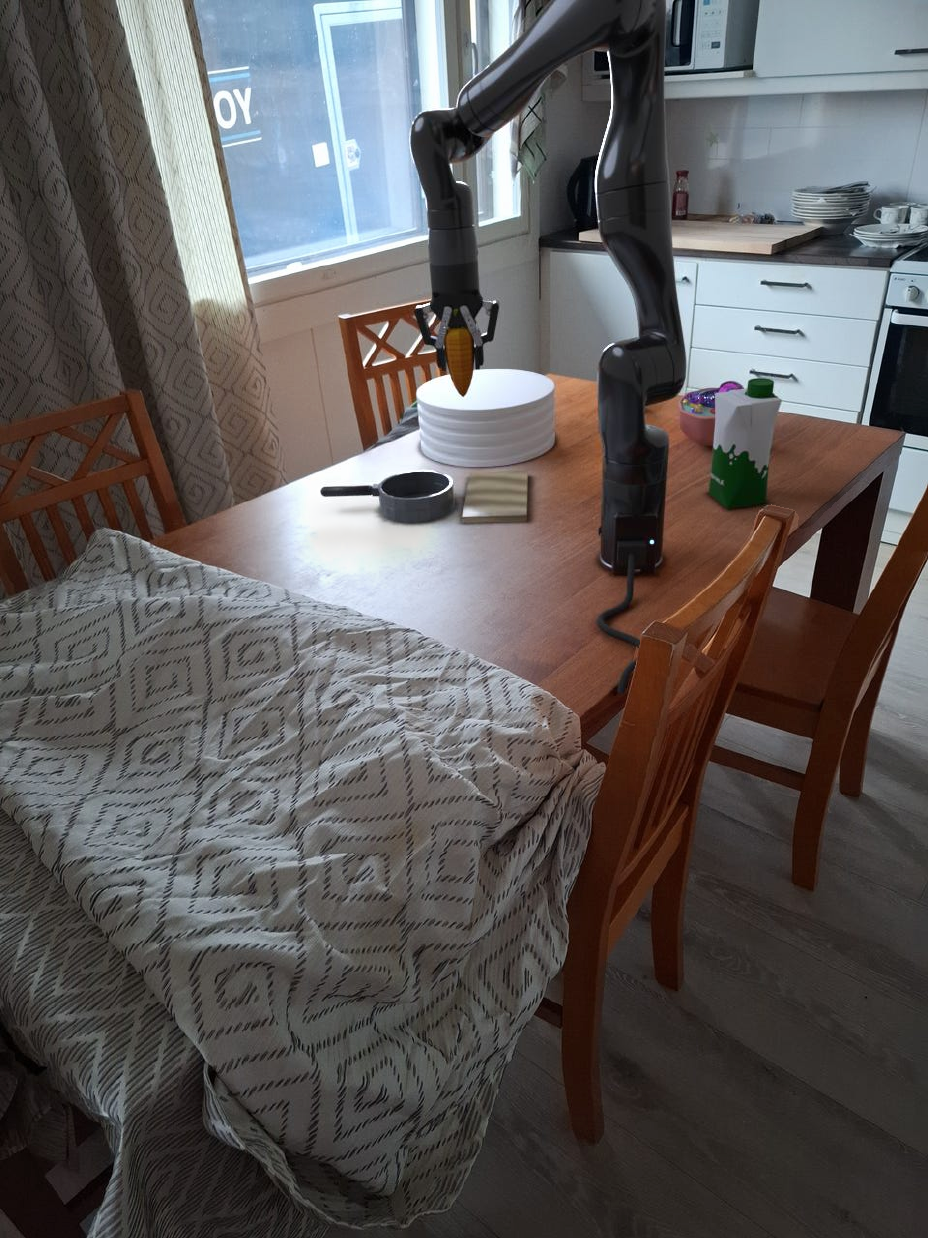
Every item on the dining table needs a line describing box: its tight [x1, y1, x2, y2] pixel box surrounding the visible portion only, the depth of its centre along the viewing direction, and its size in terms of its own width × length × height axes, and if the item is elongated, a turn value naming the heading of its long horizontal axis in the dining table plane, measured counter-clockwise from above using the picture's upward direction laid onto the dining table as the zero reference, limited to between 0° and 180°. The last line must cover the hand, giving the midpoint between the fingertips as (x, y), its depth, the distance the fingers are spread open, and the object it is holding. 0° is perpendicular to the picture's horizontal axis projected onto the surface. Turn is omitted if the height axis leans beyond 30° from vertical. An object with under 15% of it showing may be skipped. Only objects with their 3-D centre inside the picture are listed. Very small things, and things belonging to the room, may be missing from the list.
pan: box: [378, 469, 456, 525], centre depth 152 cm, size 13×13×4 cm
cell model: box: [677, 380, 745, 447], centre depth 168 cm, size 17×20×11 cm
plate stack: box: [415, 368, 556, 468], centre depth 177 cm, size 28×28×12 cm
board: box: [461, 470, 529, 524], centre depth 154 cm, size 20×11×1 cm, turn 176°
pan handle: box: [320, 483, 379, 498], centre depth 152 cm, size 11×2×2 cm, turn 86°
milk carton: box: [708, 377, 783, 510], centre depth 143 cm, size 9×9×20 cm
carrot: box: [444, 309, 475, 397], centre depth 140 cm, size 5×5×15 cm
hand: (461, 368), depth 141 cm, fingers closed on carrot, 5 cm apart
